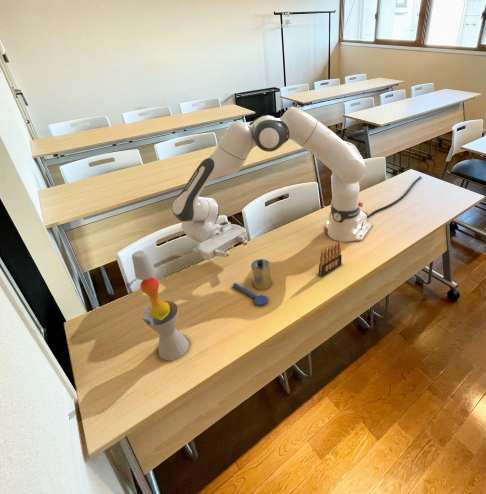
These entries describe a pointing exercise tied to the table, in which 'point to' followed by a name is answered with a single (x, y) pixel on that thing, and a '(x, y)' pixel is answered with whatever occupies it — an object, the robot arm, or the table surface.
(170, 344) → the lava lamp
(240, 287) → the spoon
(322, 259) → the ammunition clip
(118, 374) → the table surface
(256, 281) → the pot
